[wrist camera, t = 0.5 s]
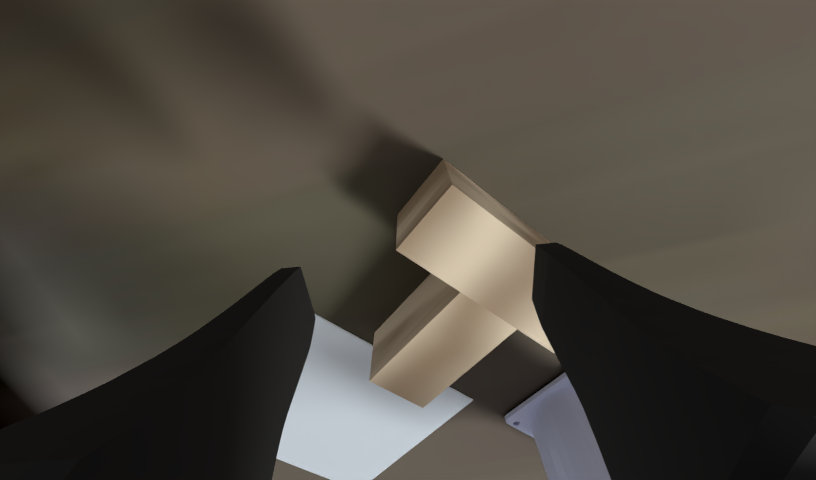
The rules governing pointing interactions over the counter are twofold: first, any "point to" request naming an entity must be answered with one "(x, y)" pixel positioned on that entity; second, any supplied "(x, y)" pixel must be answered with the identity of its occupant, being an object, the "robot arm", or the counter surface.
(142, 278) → the counter surface
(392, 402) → the mat
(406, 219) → the t block
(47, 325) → the counter surface
